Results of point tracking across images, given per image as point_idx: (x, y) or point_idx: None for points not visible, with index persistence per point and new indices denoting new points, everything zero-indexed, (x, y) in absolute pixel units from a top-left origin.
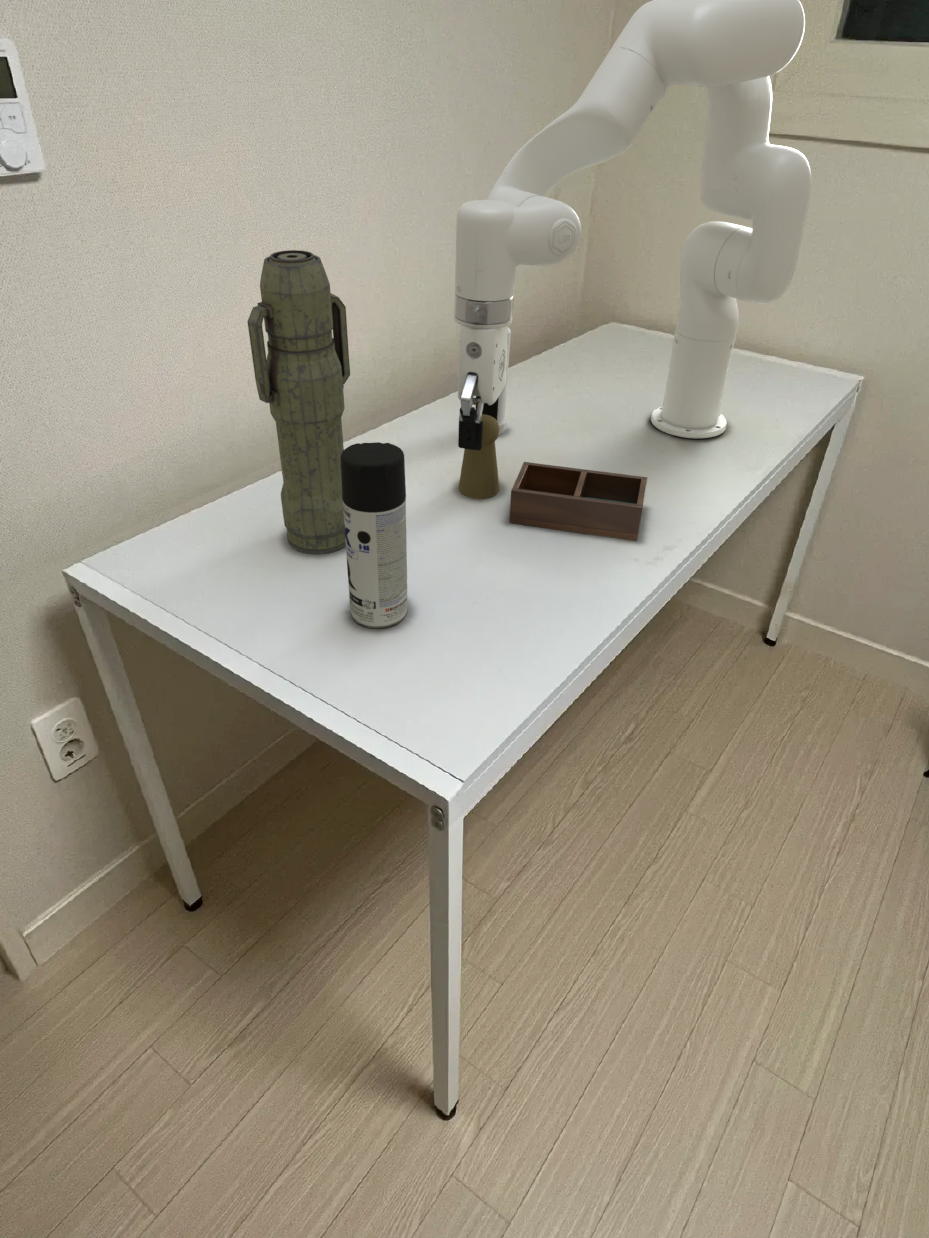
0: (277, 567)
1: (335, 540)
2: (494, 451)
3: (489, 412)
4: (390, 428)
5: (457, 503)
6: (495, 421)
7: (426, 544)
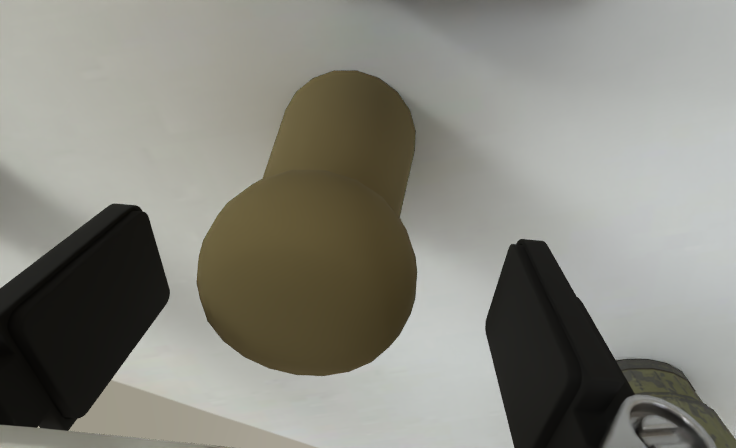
0: None
1: (697, 395)
2: (339, 149)
3: (118, 277)
4: None
5: (451, 187)
6: (284, 240)
7: (692, 226)
